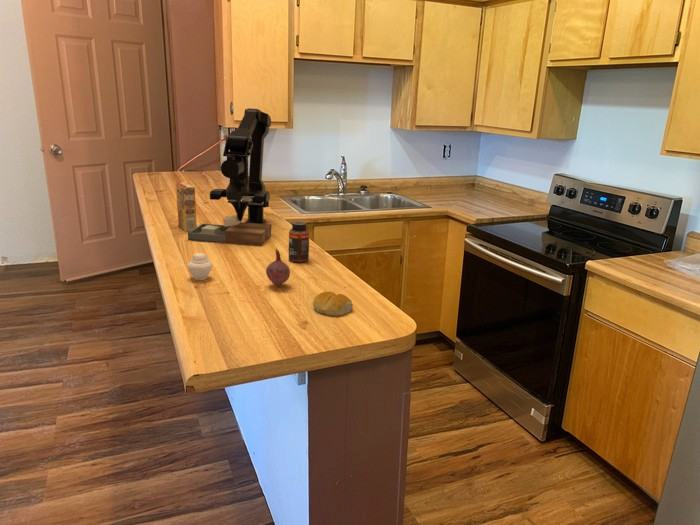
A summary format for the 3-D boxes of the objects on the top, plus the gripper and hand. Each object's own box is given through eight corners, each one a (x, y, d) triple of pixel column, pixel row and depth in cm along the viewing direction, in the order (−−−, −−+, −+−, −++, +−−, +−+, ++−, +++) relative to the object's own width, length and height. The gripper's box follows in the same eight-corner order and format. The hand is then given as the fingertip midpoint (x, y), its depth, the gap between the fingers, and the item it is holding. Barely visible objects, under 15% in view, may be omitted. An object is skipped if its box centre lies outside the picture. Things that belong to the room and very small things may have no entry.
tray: (202, 230, 185) (202, 223, 184) (235, 233, 184) (235, 226, 183) (188, 240, 172) (187, 232, 171) (223, 243, 171) (223, 235, 171)
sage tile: (214, 229, 175) (214, 236, 176) (220, 226, 179) (220, 233, 180) (201, 228, 176) (201, 235, 177) (208, 225, 180) (208, 232, 181)
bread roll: (325, 300, 130) (326, 284, 129) (356, 309, 126) (357, 293, 125) (304, 310, 123) (305, 293, 122) (337, 320, 119) (338, 303, 118)
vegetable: (278, 280, 141) (278, 244, 138) (295, 286, 137) (296, 249, 134) (260, 286, 136) (260, 248, 133) (277, 292, 133) (278, 253, 130)
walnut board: (236, 233, 184) (236, 221, 182) (271, 235, 183) (271, 224, 182) (224, 243, 171) (224, 231, 170) (261, 246, 170) (261, 233, 169)
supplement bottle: (311, 259, 160) (313, 222, 157) (303, 264, 155) (304, 226, 152) (293, 256, 162) (294, 219, 159) (284, 261, 157) (285, 223, 153)
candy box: (197, 230, 184) (195, 186, 179) (185, 232, 182) (183, 187, 177) (189, 225, 191) (187, 182, 186) (177, 226, 189) (175, 182, 184)
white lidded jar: (199, 284, 135) (198, 257, 133) (182, 278, 138) (181, 252, 136) (217, 277, 140) (217, 252, 138) (201, 272, 143) (200, 247, 141)
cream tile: (228, 223, 182) (226, 216, 181) (241, 221, 181) (239, 214, 181) (224, 226, 178) (222, 219, 177) (237, 224, 177) (235, 217, 176)
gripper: (202, 176, 167) (205, 224, 172) (261, 178, 166) (262, 228, 171) (214, 171, 178) (216, 217, 183) (269, 174, 177) (270, 220, 181)
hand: (240, 220), depth 179 cm, fingers closed
